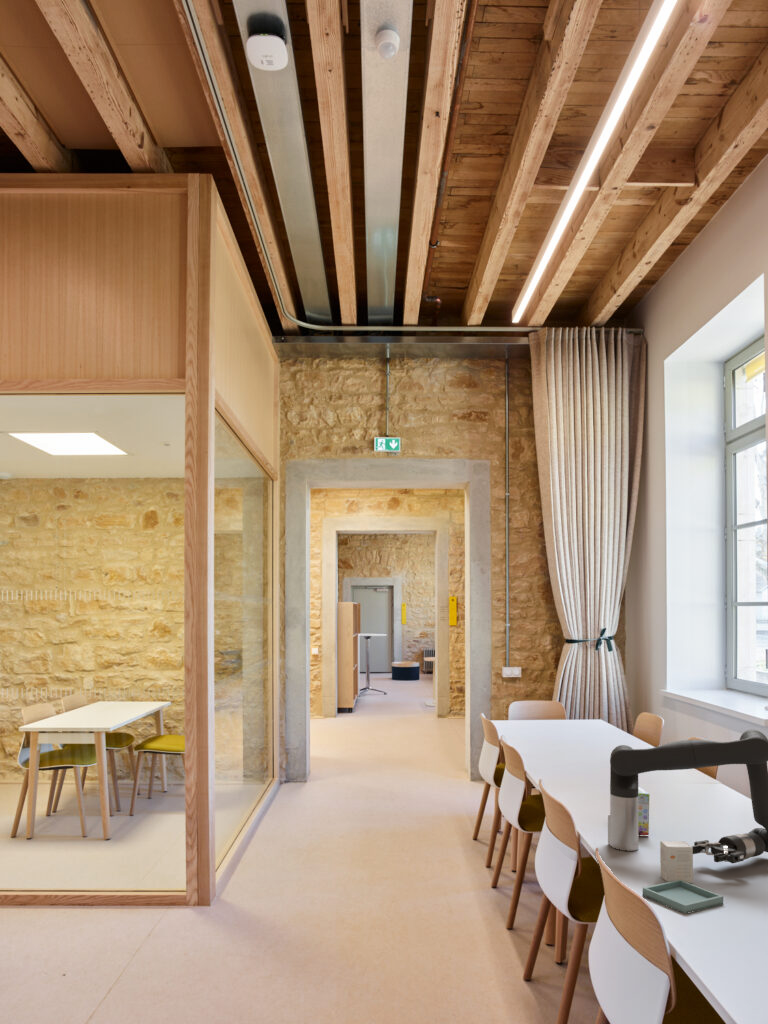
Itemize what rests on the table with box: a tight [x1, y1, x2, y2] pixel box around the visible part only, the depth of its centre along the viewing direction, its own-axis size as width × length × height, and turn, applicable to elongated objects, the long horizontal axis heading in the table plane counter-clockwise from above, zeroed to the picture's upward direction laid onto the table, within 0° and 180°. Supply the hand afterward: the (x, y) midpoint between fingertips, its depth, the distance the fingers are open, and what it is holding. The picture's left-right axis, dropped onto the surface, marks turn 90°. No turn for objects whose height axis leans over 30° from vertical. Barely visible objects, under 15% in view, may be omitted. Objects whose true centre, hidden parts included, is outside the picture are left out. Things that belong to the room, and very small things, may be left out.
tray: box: [642, 880, 724, 914], centre depth 225 cm, size 15×16×2 cm
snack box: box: [638, 785, 650, 835], centre depth 296 cm, size 21×6×15 cm, turn 179°
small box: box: [659, 840, 694, 884], centre depth 241 cm, size 8×6×10 cm
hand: (703, 854), depth 247 cm, fingers open, 8 cm apart
